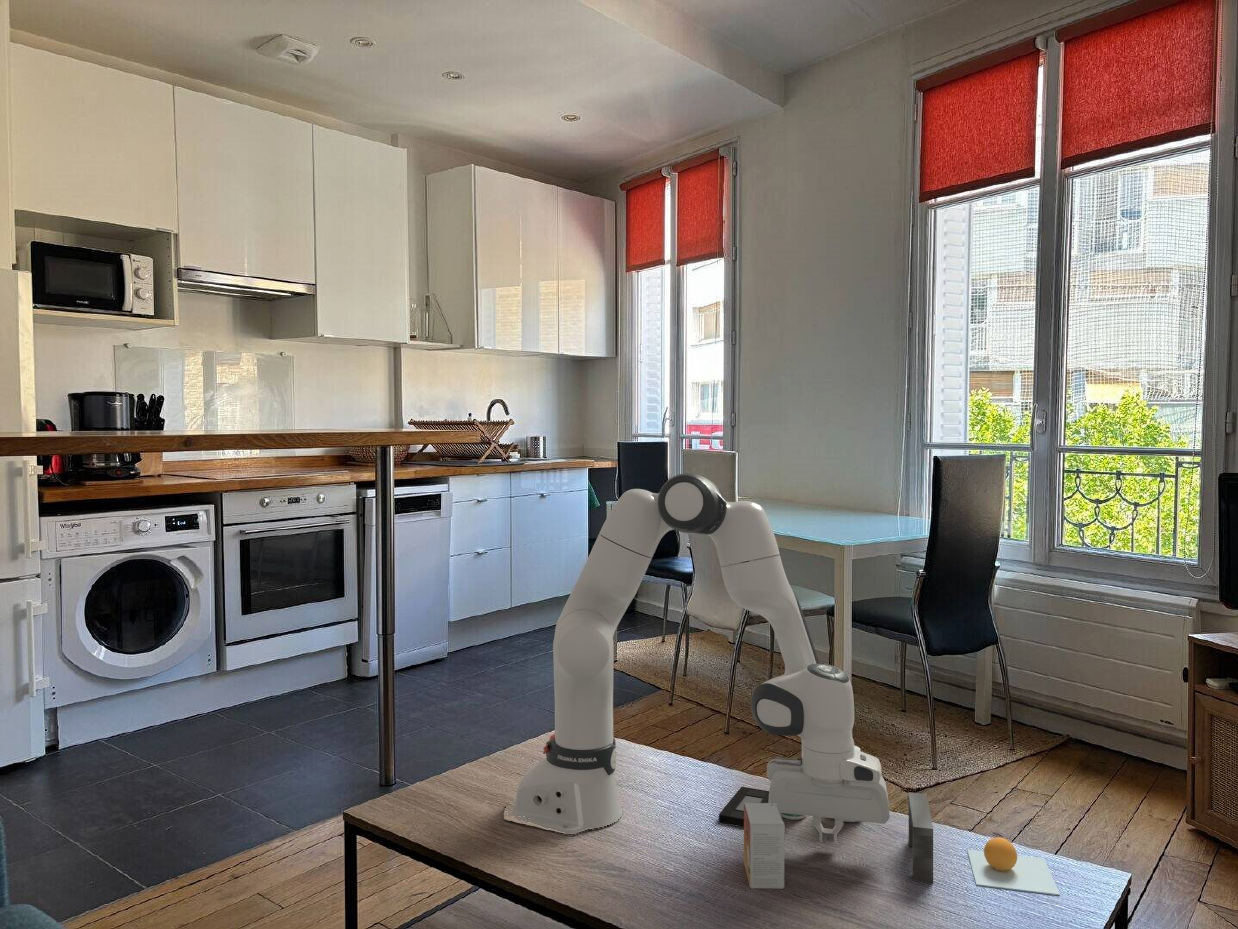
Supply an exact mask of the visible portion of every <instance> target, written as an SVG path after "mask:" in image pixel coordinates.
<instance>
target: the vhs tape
mask: <svg viewBox="0 0 1238 929" xmlns="http://www.w3.org/2000/svg"><path fill="white" fill-rule="evenodd" d="M768 800H769V790H765V789H758V788H753V787H746V786H741V787H739V789H738V790H737V791H736V792H735V794H734V795H733V796H732V797H731V799H730V800H729V801H728V803H726V805H725V806H724V807H723V809H722V810H721V811H720V812H719V813H718V822H719V823H720V824H721V823H722V824H725V825H730V826H736V827H741V828H744V803H768Z"/></svg>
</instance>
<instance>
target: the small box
mask: <svg viewBox="0 0 1238 929" xmlns="http://www.w3.org/2000/svg"><path fill="white" fill-rule="evenodd" d="M785 826H786V825H785V822H784V821H783V817H782V816H781V815H780V812H779V809H778V806H777V804H776V803H744V827H743V865H744V868H745V872H746V878H747V881H748V885H749V888H750V889H774V890H775V889H778V890H779V889H780V890H781V889H785V852H786V851H785V846H786V845H785V840H786V839H785V836H786V835H785V833H786V831H785V829H786V828H785Z"/></svg>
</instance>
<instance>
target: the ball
mask: <svg viewBox="0 0 1238 929" xmlns="http://www.w3.org/2000/svg"><path fill="white" fill-rule="evenodd" d="M983 851H984V856H985V858H986V861H987V862H988V863H989V865H990V866H992V867H993V868H995V869H997V870H1000V871H1007V870H1010V869H1011V868H1013V867H1014V866H1015V864H1016V862H1017V855H1018V853H1017V850H1016V847H1015V846H1014V845H1013V843H1012V842H1010V840H1008V839H1006V838H1003V837H992V838H991V839H989V840H988V841H987V842H986V843H985V845H984V848H983Z"/></svg>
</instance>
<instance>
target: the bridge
mask: <svg viewBox="0 0 1238 929" xmlns="http://www.w3.org/2000/svg"><path fill="white" fill-rule="evenodd" d="M933 826H934V825H933V820H932V815H931V809H930V804H929V800H928V794H927V793H919V792H917V793H916V792H908V847H909V846H913V847H912V880H914V882H921V881H923V882H922V883H929V882H932V883H931V884H934V827H933Z"/></svg>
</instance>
